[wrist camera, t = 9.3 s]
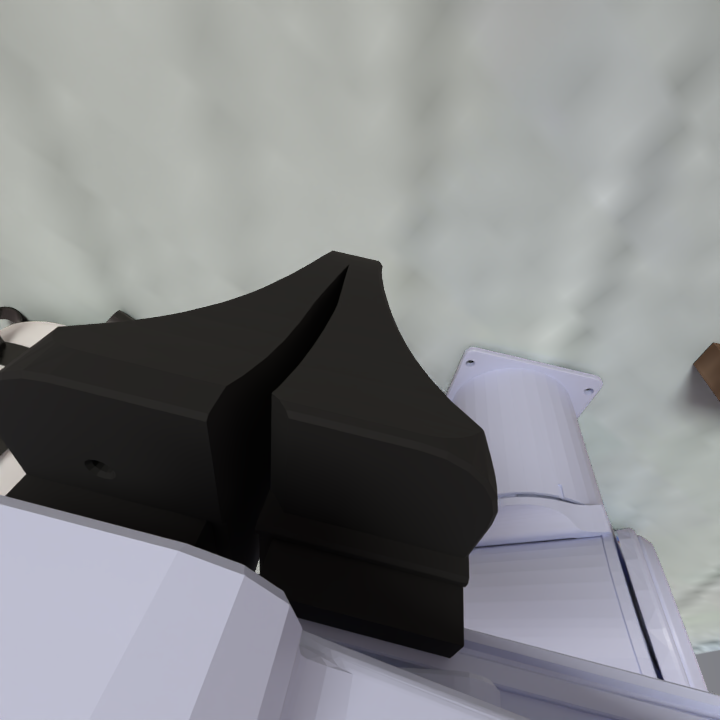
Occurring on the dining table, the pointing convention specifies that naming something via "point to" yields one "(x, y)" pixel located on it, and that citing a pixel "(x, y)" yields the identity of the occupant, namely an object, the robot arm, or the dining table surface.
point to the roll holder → (710, 368)
